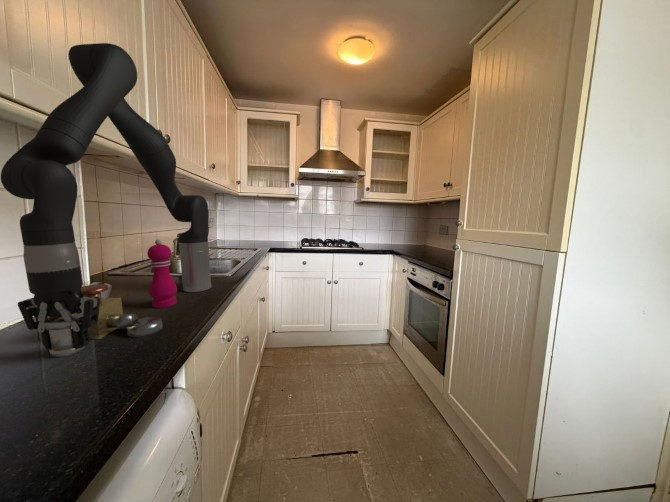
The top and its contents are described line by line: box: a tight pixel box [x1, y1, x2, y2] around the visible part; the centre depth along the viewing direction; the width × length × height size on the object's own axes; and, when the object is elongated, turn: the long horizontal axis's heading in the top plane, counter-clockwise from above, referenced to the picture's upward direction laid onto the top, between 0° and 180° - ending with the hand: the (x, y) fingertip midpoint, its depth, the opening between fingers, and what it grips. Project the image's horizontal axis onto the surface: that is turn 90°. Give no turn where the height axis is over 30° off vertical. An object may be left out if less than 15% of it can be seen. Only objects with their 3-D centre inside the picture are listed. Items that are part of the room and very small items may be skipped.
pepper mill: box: [147, 238, 178, 309], centre depth 82 cm, size 7×7×20 cm
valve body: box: [74, 283, 163, 340], centre depth 65 cm, size 8×18×11 cm, turn 94°
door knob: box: [44, 314, 86, 359], centre depth 56 cm, size 5×5×7 cm
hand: (67, 346), depth 57 cm, fingers closed on door knob, 5 cm apart
